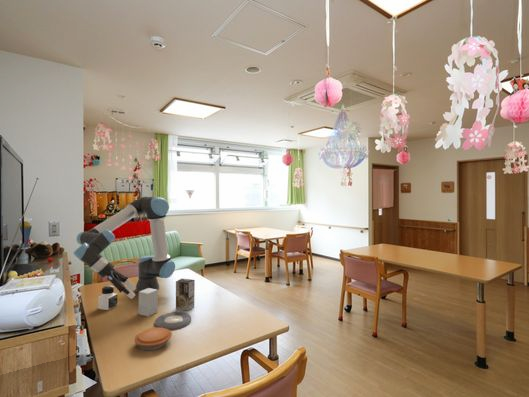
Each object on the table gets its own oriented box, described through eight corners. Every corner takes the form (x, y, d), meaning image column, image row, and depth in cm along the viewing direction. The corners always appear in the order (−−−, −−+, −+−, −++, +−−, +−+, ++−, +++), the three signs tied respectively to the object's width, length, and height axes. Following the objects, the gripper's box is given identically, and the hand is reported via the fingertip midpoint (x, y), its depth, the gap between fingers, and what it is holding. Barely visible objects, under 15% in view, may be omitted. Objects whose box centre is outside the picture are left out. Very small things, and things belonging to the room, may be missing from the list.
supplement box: (158, 311, 160) (158, 289, 160) (147, 316, 154) (148, 293, 154) (148, 309, 164) (148, 287, 163) (137, 314, 157) (138, 291, 157)
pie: (128, 354, 118) (128, 342, 118) (142, 335, 134) (142, 325, 134) (165, 353, 119) (166, 341, 119) (175, 335, 135) (175, 324, 135)
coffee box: (194, 306, 168) (195, 279, 168) (188, 311, 162) (188, 282, 162) (181, 304, 171) (182, 278, 171) (175, 308, 165) (175, 281, 165)
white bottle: (108, 310, 161) (108, 289, 161) (97, 309, 163) (97, 288, 162) (117, 305, 168) (117, 285, 168) (107, 304, 170) (107, 284, 169)
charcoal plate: (167, 312, 159) (167, 310, 159) (197, 316, 156) (197, 314, 155) (147, 327, 142) (147, 324, 142) (180, 331, 138) (180, 329, 138)
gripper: (100, 267, 159) (129, 290, 165) (93, 279, 136) (127, 306, 142) (111, 256, 161) (139, 280, 167) (105, 267, 138) (139, 294, 144)
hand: (134, 292), depth 155 cm, fingers open, 13 cm apart
